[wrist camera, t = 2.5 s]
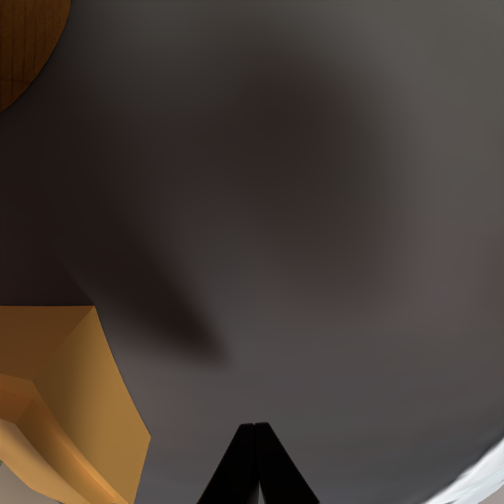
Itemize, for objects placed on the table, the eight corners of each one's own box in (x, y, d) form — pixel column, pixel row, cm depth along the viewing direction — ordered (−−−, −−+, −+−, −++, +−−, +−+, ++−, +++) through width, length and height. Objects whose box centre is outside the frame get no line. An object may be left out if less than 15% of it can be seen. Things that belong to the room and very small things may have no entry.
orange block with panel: (151, 436, 11) (128, 526, 6) (30, 413, 11) (-6, 472, 6) (94, 305, 9) (12, 407, 4) (-27, 304, 9) (-90, 357, 4)
